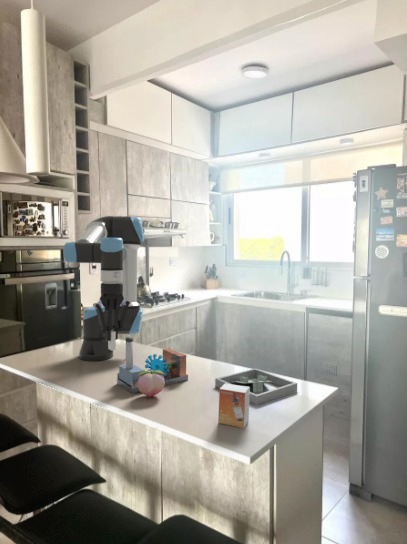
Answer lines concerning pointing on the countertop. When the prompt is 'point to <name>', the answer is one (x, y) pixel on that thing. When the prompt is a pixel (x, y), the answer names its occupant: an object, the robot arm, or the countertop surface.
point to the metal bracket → (254, 382)
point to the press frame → (173, 376)
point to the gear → (157, 364)
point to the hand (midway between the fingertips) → (111, 349)
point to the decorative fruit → (151, 382)
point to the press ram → (129, 365)
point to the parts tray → (261, 398)
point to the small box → (234, 405)
